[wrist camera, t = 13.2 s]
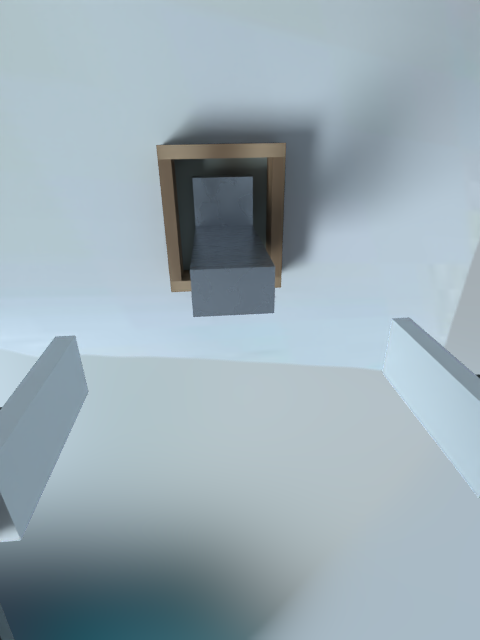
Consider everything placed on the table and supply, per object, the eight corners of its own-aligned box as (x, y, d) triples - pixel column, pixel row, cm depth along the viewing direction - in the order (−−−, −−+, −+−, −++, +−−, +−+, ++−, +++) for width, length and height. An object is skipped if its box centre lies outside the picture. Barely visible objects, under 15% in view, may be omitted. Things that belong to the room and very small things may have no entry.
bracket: (250, 252, 36) (274, 312, 23) (198, 254, 35) (193, 316, 23) (250, 174, 33) (277, 195, 20) (193, 175, 32) (184, 198, 20)
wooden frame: (174, 279, 37) (171, 291, 34) (161, 145, 31) (156, 145, 28) (274, 275, 37) (280, 287, 34) (278, 142, 32) (286, 143, 29)
